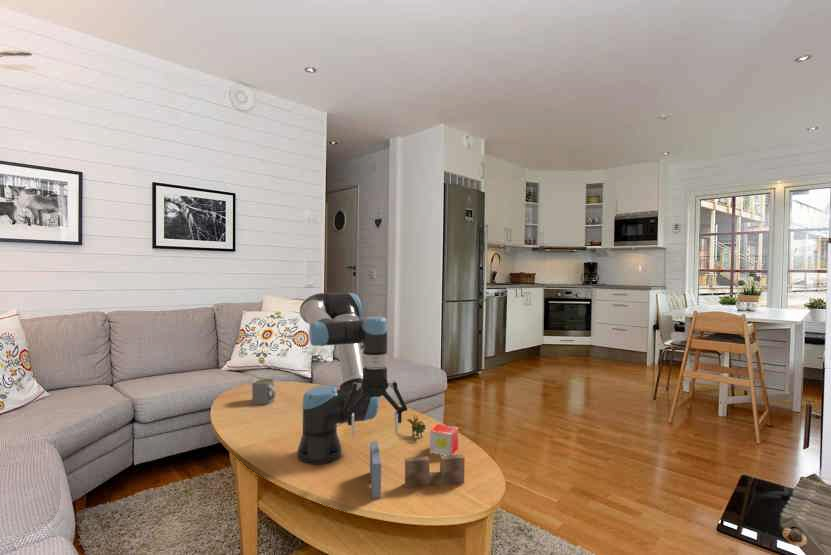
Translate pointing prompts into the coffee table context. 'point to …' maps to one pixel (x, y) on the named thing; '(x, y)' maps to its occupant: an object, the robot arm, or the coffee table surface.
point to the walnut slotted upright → (421, 476)
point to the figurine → (417, 426)
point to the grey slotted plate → (375, 469)
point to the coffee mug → (263, 391)
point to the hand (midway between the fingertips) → (374, 434)
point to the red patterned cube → (443, 439)
